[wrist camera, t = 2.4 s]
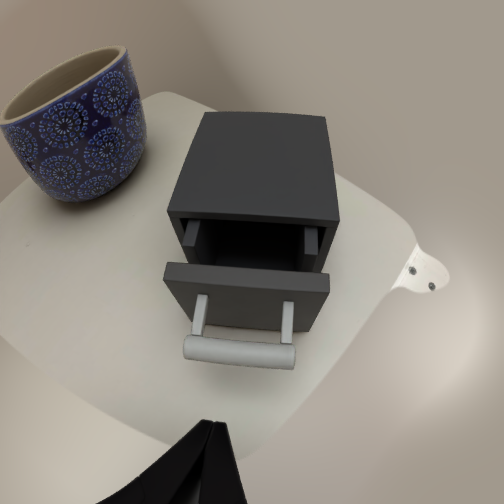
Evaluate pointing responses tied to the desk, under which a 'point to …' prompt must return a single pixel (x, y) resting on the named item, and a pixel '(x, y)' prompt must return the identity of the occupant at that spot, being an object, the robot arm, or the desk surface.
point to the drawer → (247, 287)
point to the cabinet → (259, 174)
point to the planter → (79, 125)
